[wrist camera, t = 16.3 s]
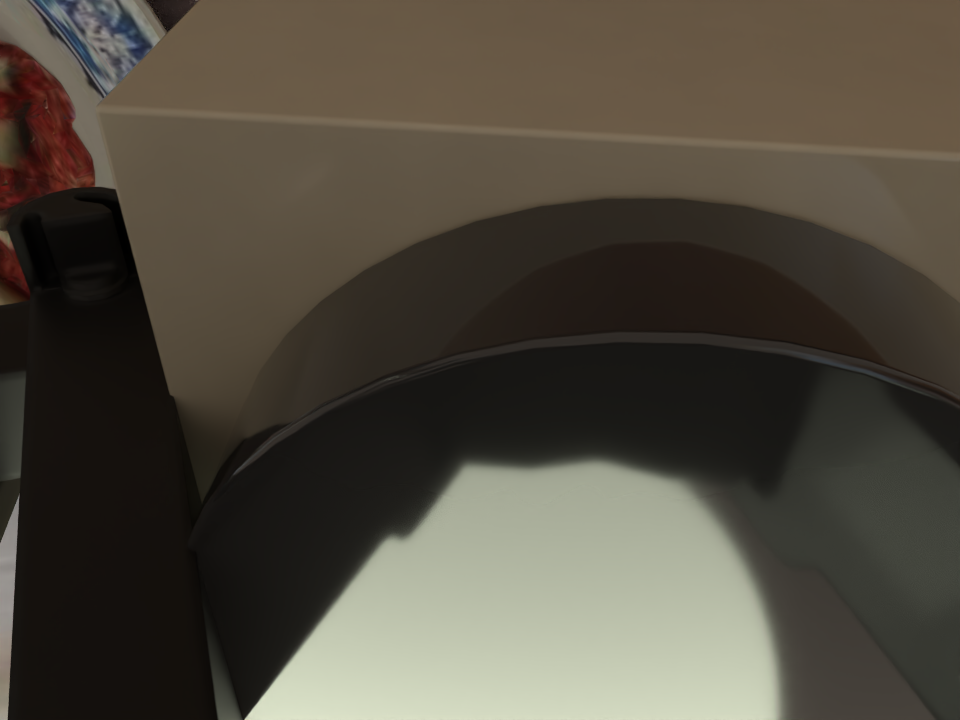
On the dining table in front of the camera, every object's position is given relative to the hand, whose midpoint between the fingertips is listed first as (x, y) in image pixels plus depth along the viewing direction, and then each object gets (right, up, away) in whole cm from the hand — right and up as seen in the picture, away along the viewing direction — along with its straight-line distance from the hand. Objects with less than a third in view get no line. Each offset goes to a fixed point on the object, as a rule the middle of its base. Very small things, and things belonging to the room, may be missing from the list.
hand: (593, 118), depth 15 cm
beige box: (0, -3, +5) cm, 6 cm away
